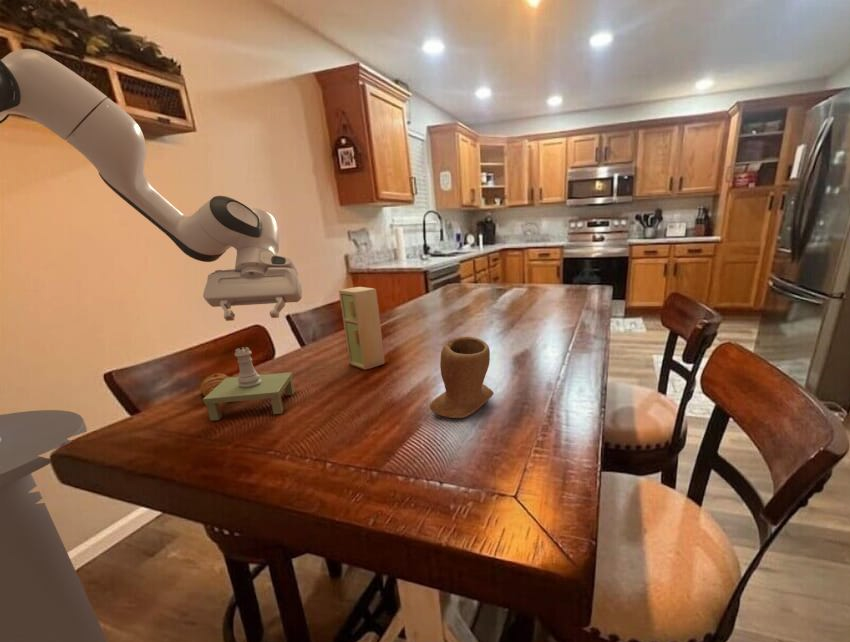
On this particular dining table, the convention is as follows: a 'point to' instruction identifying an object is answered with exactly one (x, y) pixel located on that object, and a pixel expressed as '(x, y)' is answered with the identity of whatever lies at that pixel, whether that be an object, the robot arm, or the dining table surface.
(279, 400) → the green miniature table
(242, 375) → the rook chess piece
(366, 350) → the toy refrigerator
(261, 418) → the dining table surface
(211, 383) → the pastry
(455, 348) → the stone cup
